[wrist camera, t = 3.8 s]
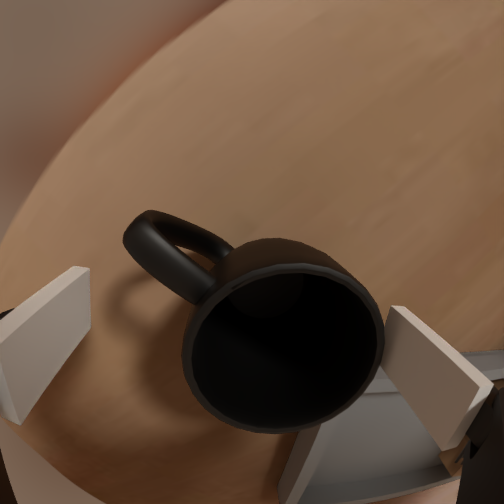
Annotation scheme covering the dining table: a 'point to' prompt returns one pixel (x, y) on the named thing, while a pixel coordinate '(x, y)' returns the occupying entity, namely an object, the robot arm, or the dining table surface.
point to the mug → (264, 325)
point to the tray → (371, 448)
